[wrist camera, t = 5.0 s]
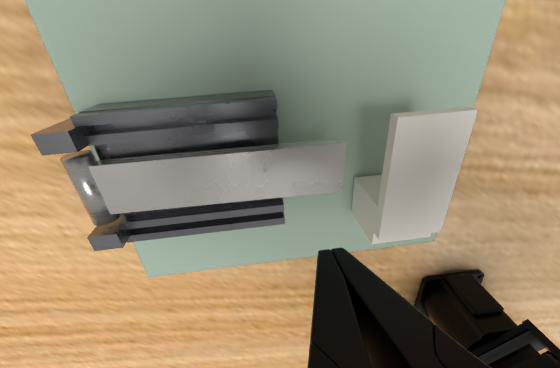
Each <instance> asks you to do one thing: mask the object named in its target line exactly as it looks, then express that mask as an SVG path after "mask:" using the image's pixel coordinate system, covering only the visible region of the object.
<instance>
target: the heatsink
mask: <svg viewBox="0 0 560 368" xmlns="http://www.w3.org/2000/svg"><path fill="white" fill-rule="evenodd" d="M276 109H278V108H277V98H276V96H275V94H274V92H273V90H260V91H248V92H236V93H224V94H212V95H200V96H188V97H176V98H164V99H152V100H140V101H128V102H116V103H104V104H98V105H95V106H92V107H90V108H87V109H85V110H82V111H80V112H79V113H78V114H75V115H73V116H70V119H68V120H65V121H63V122H60V123H58V124H55V125H53V126H51V127H48V128H46V129H43V130H41V131H38V132H36V133H34V134H31V136H32V138H33V140H34V142H35V144H36V146H37V147H38V149H39V151H40V153H41V155H51V154H62V153H72V152H78V151H80V150H81V149H83V148H85V147H86V146H92V145H94V148H95V150H96V152H97V154H98V157H99V159H100V160H106V159H117V158H128V157H139V156H150V155H161V154H173V153H184V152H195V151H206V150H217V149H228V148H239V147H251V146H262V145H273V144H279V141H278V128H279V123H278V117H277V111H276ZM281 224H285V216H284V203H283V198H282V197H281V198H271V199H261V200H251V201H240V202H230V203H220V204H210V205H200V206H190V207H180V208H170V209H160V210H150V211H140V212H130V213H120V217H119V218H118V219H117V220H115V221H114V222H112V223H110V224H107V225H103V226H97V227H96V228H95V229H94V230H93V231H92V233H91V234H90V235H89V236H88V237H87V238H88V240H89V242H90V244H91V245H92V247H93V249H94V251H99V250H107V249H115V248H123V247H124V245H125V243H126V242H127V243H128V242H137V241H145V240H154V239H162V238H171V237H179V236H187V235H196V234H204V233H213V232H221V231H230V230H238V229H247V228H255V227H264V226H272V225H281Z"/></svg>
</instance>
